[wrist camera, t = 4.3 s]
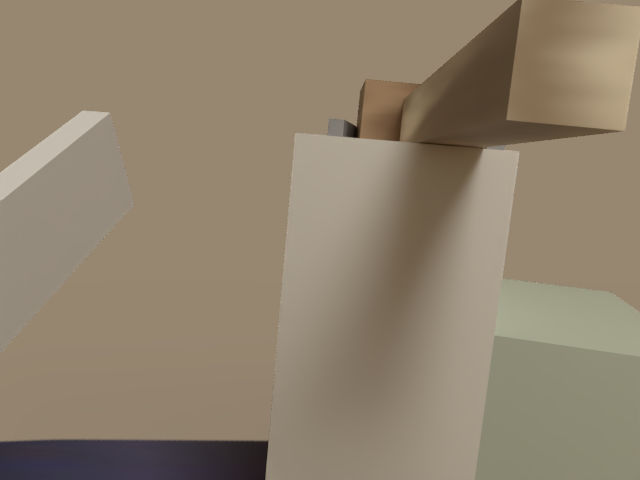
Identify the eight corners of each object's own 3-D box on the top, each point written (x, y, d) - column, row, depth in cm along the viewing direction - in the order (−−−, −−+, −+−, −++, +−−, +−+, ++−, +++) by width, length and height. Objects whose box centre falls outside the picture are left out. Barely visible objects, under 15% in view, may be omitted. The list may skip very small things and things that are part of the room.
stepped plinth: (251, 642, 33) (297, 103, 29) (318, 481, 51) (353, 130, 47) (647, 749, 29) (763, 136, 25) (571, 534, 46) (633, 153, 42)
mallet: (407, 110, 14) (426, -57, 14) (354, 147, 42) (360, 91, 42) (723, 140, 14) (753, -26, 14) (463, 157, 42) (470, 101, 42)
